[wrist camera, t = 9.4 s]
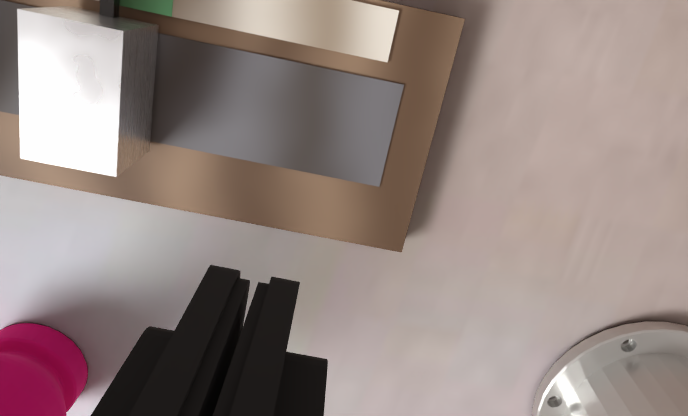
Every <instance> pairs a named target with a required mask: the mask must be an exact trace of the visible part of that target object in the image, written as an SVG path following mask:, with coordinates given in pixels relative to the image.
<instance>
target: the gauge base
mask: <svg viewBox="0 0 688 416" xmlns="http://www.w3.org/2000/svg"><path fill="white" fill-rule="evenodd" d="M59 6H71V7H76V8H81V9H86V10H90V11H95V12H100V0H0V175H2V176H7V177H12V178H18V179H23V180H28V181H33V182H38V183H44V184H49V185H54V186H59V187H64V188H70V189H75V190H80V191H85V192H90V193H96V194H101V195H106V196H111V197H116V198H122V199H127V200H132V201H137V202H142V203H148V204H153V205H158V206H163V207H168V208H174V209H179V210H184V211H189V212H194V213H200V214H205V215H210V216H215V217H220V218H226V219H231V220H236V221H241V222H246V223H252V224H257V225H262V226H267V227H272V228H278V229H283V230H288V231H293V232H298V233H304V234H309V235H314V236H319V237H324V238H330V239H335V240H340V241H345V242H350V243H356V244H361V245H366V246H371V247H376V248H382V249H387V250H392V251H397V252H402V249H403V245H404V242H405V238H406V234H407V231H408V227H409V223H410V219H411V216H412V212H413V208H414V205H415V201H416V197H417V194H418V190H419V186H420V183H421V179H422V175H423V172H424V168H425V164H426V161H427V157H428V153H429V150H430V146H431V142H432V139H433V135H434V131H435V128H436V124H437V120H438V117H439V113H440V109H441V105H442V102H443V98H444V94H445V91H446V87H447V83H448V80H449V76H450V72H451V69H452V65H453V61H454V58H455V54H456V50H457V47H458V43H459V39H460V36H461V32H462V28H463V25H464V21H465V19H463V18H459V17H455V16H450V15H446V14H441V13H437V12H432V11H427V10H423V9H418V8H414V7H409V6H405V5H400V4H396V3H391V2H386V1H382V0H120V3H119V17H123V18H128V19H133V20H138V21H142V22H147V23H152V24H157V25H158V39H157V54H156V68H155V82H154V96H153V110H152V124H151V138H150V151H149V152H148V153H146V154H145V155H144V156H143V157H141V158H140V159H139V160H137V161H136V162H135V163H134V164H132V165H131V166H130V167H128V168H127V169H126V170H125V171H123V172H122V173H121V174H120V175H118V176H117V177H114V176H109V175H103V174H98V173H93V172H88V171H83V170H78V169H73V168H67V167H62V166H57V165H52V164H47V163H42V162H37V161H32V160H26V159H21V158H20V117H19V71H18V25H17V9H22V8H41V7H59Z"/></svg>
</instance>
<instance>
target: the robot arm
mask: <svg viewBox="0 0 688 416" xmlns="http://www.w3.org/2000/svg"><path fill="white" fill-rule="evenodd" d="M299 284H300V282H296V281H291V280H286V279H281V278H276V277H271V280H270V283H269V284H266V283H261V282H258V285H257V288H256V291H255V294H254V297H253V299H252V302H251V305H250V308H249V311H248V314H247V317H246V320H245V323H244V316H245V310H246V304H247V298H248V292H249V285H250V280H245V279H240V271H239V270H234V269H229V268H224V267H219V266H213V265H210V267H209V268H208V270H207V272H206V274H205V276H204V277H203V279H202V281H201V283H200V285H199V287H198V289H197V290H196V292H195V294H194V296H193V298H192V300H191V301H190V303H189V305H188V307H187V309H186V311H185V313H184V314H183V316H182V318H181V320H180V322H179V324H178V325H177V327H176V329H175V331H172V330H166V329H161V328H156V327H148V328H147V329H146V330H145V331H144V332H143V334H142V335H141V337H140V338H139V340H138V342H137V343H136V345H135V346H134V348H133V350H132V351H131V353H130V354H129V356H128V357H127V359H126V361H125V362H124V364H123V365H122V367H121V369H120V370H119V372H118V373H117V375H116V376H115V378H114V380H113V381H112V383H111V384H110V386H109V388H108V389H107V391H106V392H105V394H104V396H103V397H102V399H101V400H100V402H99V403H98V405H97V407H96V408H95V410H94V411H93V413H92V415H91V416H324V403H325V391H326V378H327V364H328V361H327V359H323V358H317V357H312V356H307V355H301V354H296V353H290V352H286V349H287V344H288V339H289V334H290V329H291V324H292V319H293V314H294V309H295V304H296V299H297V294H298V289H299ZM243 323H244V326H243ZM532 416H688V326H686V325H681V324H676V323H670V322H649V321H646V322H638V323H631V324H625V325H621V326H618V327H614V328H611V329H608V330H604V331H602V332H600V333H598V334H596V335H593V336H591V337H589V338H587V339H585V340H583V341H582V342H580V343H579V344H577V345H576V346H574V347H573V348H571V349H570V350H568V351H567V352H566V353H565V354H564V355H563V356H562V357H561V358H560V359H559V360H558V361H556V362H555V363H554V365H553V366H552V367H551V368H550V370H549V371H548V372H547V374H546V375H545V376H544V378H543V380H542V382H541V384H540V386H539V388H538V390H537V392H536V395H535V399H534V403H533V407H532Z"/></svg>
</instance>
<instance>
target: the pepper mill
mask: <svg viewBox="0 0 688 416" xmlns="http://www.w3.org/2000/svg"><path fill="white" fill-rule="evenodd" d="M87 377H88V369H87V363H86V361H85V359H84V357H83V354H82V352H81V350H80V349H79V348H78V347H77V346H76V345H75V344H74V342H73V341H72V340H70V339H69V338H68V337H66V336H65V335H64V334H62V333H61V332H59V331H57V330H54V329H52V328H50V327H47V326H43V325H39V324H34V323H21V324H15V325H11V326H8V327H5V328H4V329H2V330H0V416H66V412H67V411H68V410H69V409H70V408H71V407H72V405H73V404H74V402H75V401H76V399H77V398H78V397H79V395H80V394H81V392H82V391H83V389H84V387H85V385H86V382H87Z"/></svg>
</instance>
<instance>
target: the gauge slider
mask: <svg viewBox="0 0 688 416" xmlns="http://www.w3.org/2000/svg"><path fill="white" fill-rule="evenodd" d="M119 3H120V0H100V12H95V11H90V10H86V9H81V8H76V7H71V6H59V7H41V8H22V9H17V25H18V71H19V117H20V158H21V159H26V160H32V161H37V162H42V163H47V164H52V165H57V166H62V167H67V168H73V169H78V170H83V171H88V172H93V173H98V174H103V175H109V176H114V177H117V176H118V175H120V174H121V173H122V172H123V171H125V170H126V169H127V168H128V167H130V166H131V165H132V164H134V163H135V162H136V161H137V160H139V159H140V158H141V157H143V156H144V155H145V154H146V153H148V152H149V151H150V138H151V124H152V110H153V96H154V82H155V68H156V54H157V39H158V25H157V24H152V23H147V22H142V21H138V20H133V19H128V18H123V17H119Z"/></svg>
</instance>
